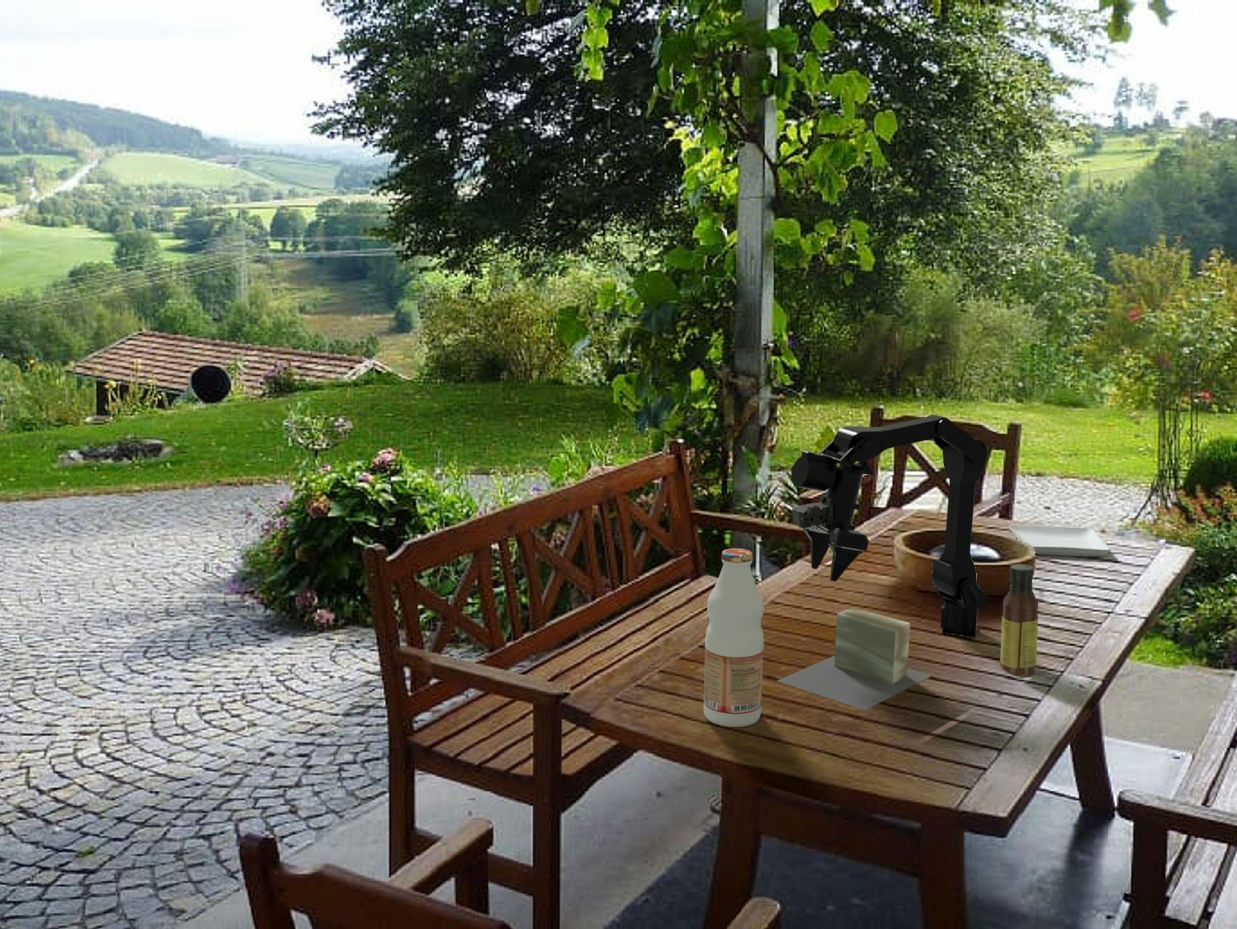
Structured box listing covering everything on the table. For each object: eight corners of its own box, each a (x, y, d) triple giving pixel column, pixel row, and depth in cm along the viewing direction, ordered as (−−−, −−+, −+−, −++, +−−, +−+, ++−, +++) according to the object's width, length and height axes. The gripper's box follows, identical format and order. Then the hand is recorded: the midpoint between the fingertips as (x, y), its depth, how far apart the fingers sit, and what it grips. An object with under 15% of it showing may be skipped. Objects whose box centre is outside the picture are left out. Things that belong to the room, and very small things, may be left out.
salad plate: (1020, 557, 290) (1022, 544, 290) (1007, 536, 311) (1008, 523, 310) (1110, 562, 287) (1112, 548, 286) (1091, 540, 307) (1092, 527, 307)
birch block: (849, 659, 217) (852, 607, 215) (906, 676, 209) (910, 623, 207) (834, 666, 213) (836, 613, 211) (892, 683, 205) (895, 629, 203)
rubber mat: (846, 653, 222) (846, 650, 222) (931, 678, 209) (932, 675, 209) (776, 684, 206) (776, 680, 206) (864, 713, 194) (864, 710, 194)
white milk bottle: (693, 720, 190) (698, 554, 185) (717, 701, 198) (721, 541, 193) (747, 733, 186) (753, 563, 180) (769, 712, 194) (775, 549, 189)
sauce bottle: (1035, 667, 215) (1044, 563, 211) (1035, 679, 210) (1044, 573, 206) (998, 663, 217) (1006, 560, 213) (997, 675, 212) (1005, 569, 208)
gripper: (784, 478, 225) (767, 556, 227) (822, 496, 207) (802, 581, 209) (837, 488, 228) (819, 565, 230) (878, 507, 210) (858, 590, 212)
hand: (823, 574), depth 220 cm, fingers open, 9 cm apart
